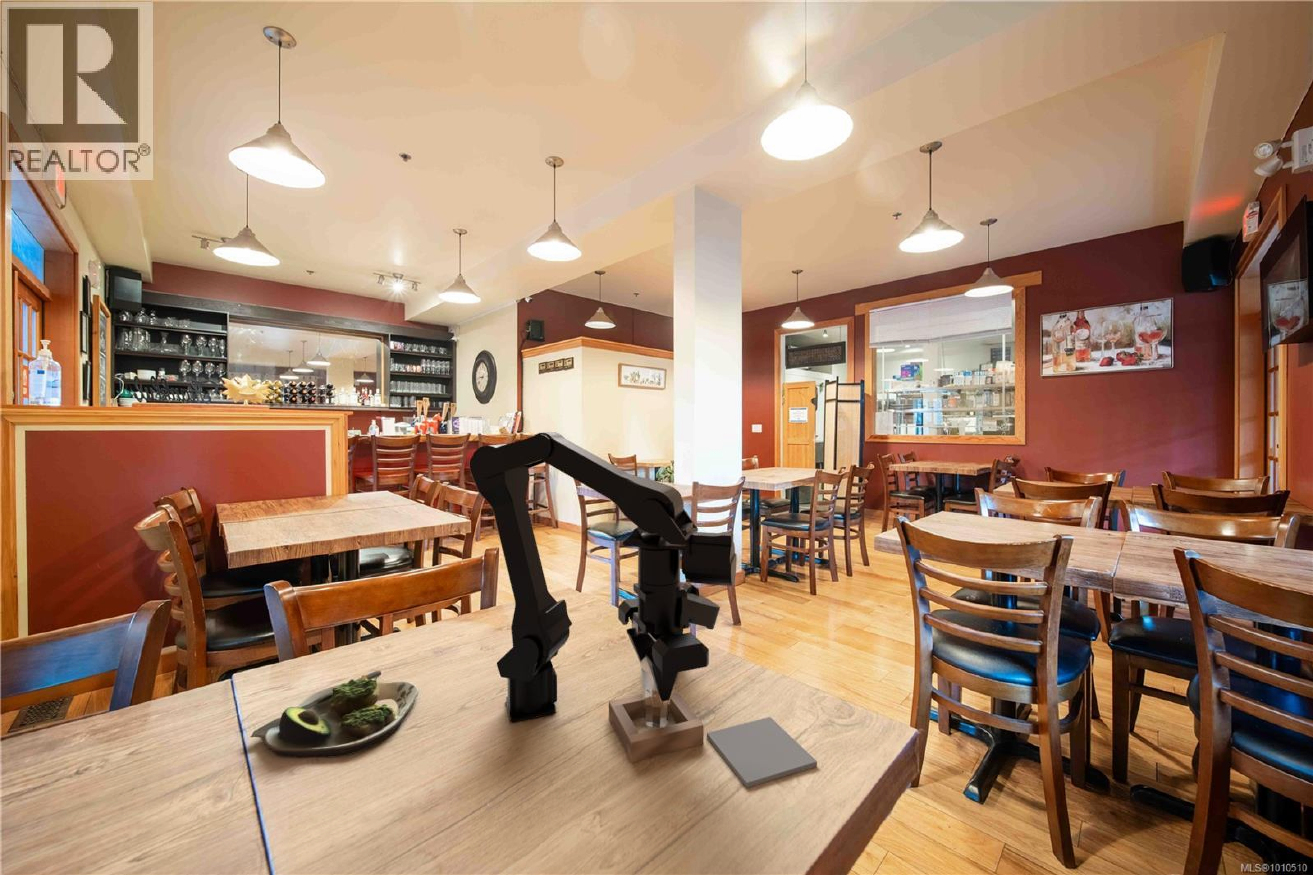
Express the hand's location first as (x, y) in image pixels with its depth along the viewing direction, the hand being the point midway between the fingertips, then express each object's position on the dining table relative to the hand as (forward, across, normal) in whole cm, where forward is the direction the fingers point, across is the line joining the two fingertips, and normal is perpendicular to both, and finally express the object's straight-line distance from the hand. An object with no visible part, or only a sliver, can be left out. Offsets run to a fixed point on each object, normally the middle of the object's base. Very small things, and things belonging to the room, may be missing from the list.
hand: (658, 691), depth 69 cm
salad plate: (+6, +18, +41) cm, 45 cm away
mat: (+5, -9, -10) cm, 15 cm away
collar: (+5, 0, +1) cm, 5 cm away
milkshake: (+4, 0, 0) cm, 4 cm away
